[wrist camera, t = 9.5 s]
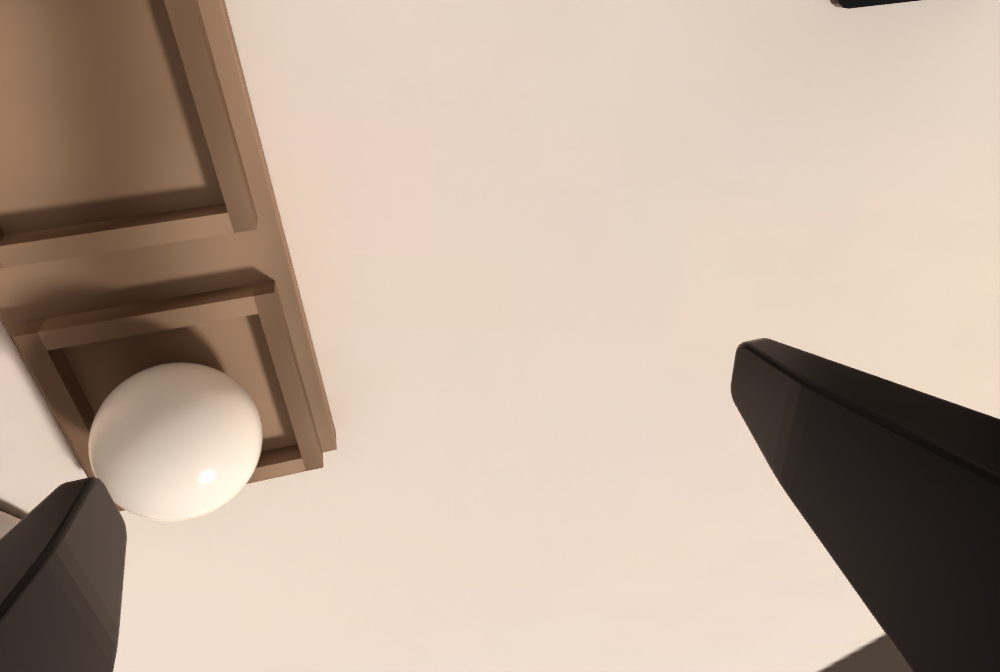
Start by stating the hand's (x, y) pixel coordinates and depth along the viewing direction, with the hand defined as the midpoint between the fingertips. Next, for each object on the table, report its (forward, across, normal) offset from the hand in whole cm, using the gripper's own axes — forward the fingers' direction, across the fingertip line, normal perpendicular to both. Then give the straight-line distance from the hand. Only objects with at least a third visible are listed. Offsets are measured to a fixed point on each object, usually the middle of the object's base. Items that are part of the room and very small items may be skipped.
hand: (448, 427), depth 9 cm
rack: (+13, +7, +2) cm, 15 cm away
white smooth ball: (+12, +7, +6) cm, 15 cm away
